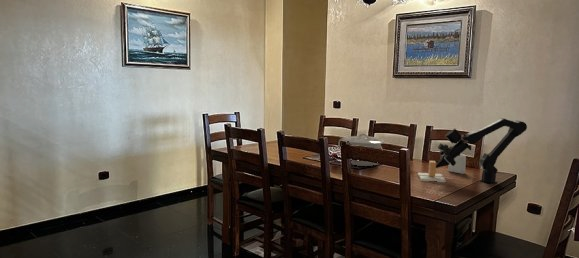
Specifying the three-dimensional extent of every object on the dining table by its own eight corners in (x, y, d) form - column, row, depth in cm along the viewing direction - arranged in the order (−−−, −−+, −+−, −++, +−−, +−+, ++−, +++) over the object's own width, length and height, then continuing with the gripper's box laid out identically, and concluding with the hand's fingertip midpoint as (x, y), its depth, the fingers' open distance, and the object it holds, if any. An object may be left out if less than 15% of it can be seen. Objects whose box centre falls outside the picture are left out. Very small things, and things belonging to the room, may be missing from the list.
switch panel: (440, 176, 235) (440, 173, 235) (445, 182, 222) (445, 179, 222) (417, 175, 238) (417, 172, 237) (421, 181, 224) (421, 178, 224)
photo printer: (446, 171, 249) (448, 151, 247) (450, 170, 252) (451, 151, 250) (462, 174, 241) (464, 154, 240) (466, 173, 244) (467, 153, 242)
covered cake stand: (392, 168, 254) (393, 136, 251) (353, 170, 245) (354, 137, 243) (370, 159, 280) (371, 130, 277) (334, 161, 272) (335, 131, 269)
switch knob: (433, 176, 232) (434, 160, 230) (435, 178, 227) (436, 162, 226) (428, 176, 232) (429, 160, 231) (429, 178, 228) (430, 162, 226)
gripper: (444, 136, 234) (423, 153, 238) (451, 141, 216) (428, 160, 220) (457, 150, 234) (436, 167, 237) (465, 156, 216) (442, 175, 219)
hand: (435, 167), depth 228 cm, fingers closed, pressing on switch knob
